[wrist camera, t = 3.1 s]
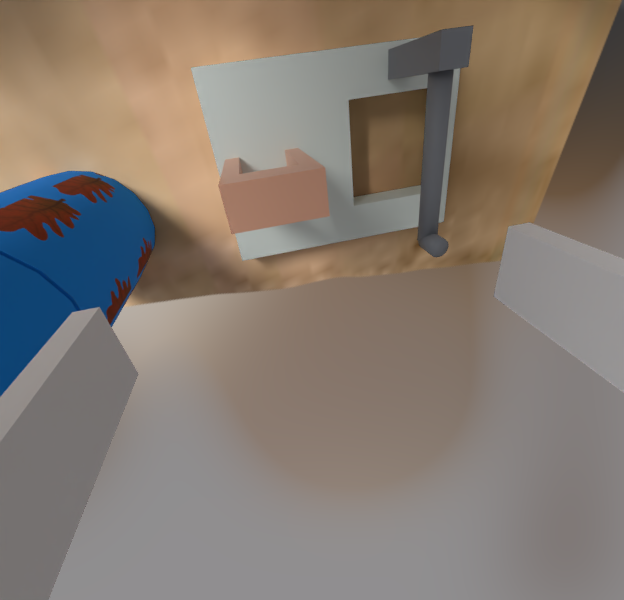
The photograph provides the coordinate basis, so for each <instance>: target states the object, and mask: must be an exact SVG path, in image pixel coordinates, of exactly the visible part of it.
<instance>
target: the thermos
mask: <svg viewBox="0 0 624 600" xmlns="http://www.w3.org/2000/svg"><path fill="white" fill-rule="evenodd" d="M154 245H155V227H154V225H153V222H152V219H151V217H150V214H149V212H148V210H147V208H146V207H145V206H144V205H143V203H142V202H141V201H140V200H139V199H138V197H137V196H136V195H135V194H134V193H133V192H132V191H130V190H129V189H127V188H126V187H124V186H123V185H122V184H120V183H119V182H117V181H116V180H114V179H111V178H108V177H106V176H103V175H100V174H97V173H94V172H85V171H67V172H62V173H58V174H54V175H50V176H46V177H43V178H40V179H37V180H34V181H31V182H28V183H25V184H23V185H20V186H17V187H14V188H12V189H9V190H6V191H3V192H1V193H0V397H1V396H2V394H3V393H4V392H5V391H6V390H7V389H8V387H9V386H10V385H11V384H12V383H13V381H14V380H15V379H16V378H17V377H18V376H19V374H20V373H21V372H22V371H23V370H24V369H25V367H26V366H27V365H28V364H29V363H30V361H31V360H32V359H33V358H34V357H35V356H36V354H37V353H38V352H39V351H40V350H41V349H42V347H43V346H44V345H45V344H46V343H47V341H48V340H49V339H50V338H51V337H52V336H53V334H54V333H55V332H56V331H57V330H58V329H59V327H60V326H61V325H62V324H63V323H64V321H65V320H66V319H67V318H68V317H69V316H70V314H71V313H72V312H76V311H81V310H87V309H92V308H97V307H100V309H101V310H102V312H103V314H104V316H105V317H106V319H107V321H108V322H109V324H110V326H111V327H112V326H113V324H114V322H115V320H116V319H117V317H118V315H119V313H120V312H121V310H122V308H123V306H124V305H125V303H126V301H127V300H128V298H129V296H130V294H131V293H132V291H133V289H134V287H135V286H136V284H137V282H138V280H139V279H140V277H141V275H142V273H143V270H144V268H145V266H146V264H147V262H148V259H149V257H150V255H151V252H152V250H153V247H154Z"/></svg>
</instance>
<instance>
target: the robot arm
mask: <svg viewBox="0 0 624 600" xmlns="http://www.w3.org/2000/svg"><path fill="white" fill-rule="evenodd" d="M494 297H495V298H496V299H497V300H499V301H500V302H502V303H503V304H504V305H506V306H507V307H508V308H510V309H511V310H513V311H514V312H515V313H516V314H518V315H519V316H520V317H522V318H523V319H525V320H526V321H527V322H529V323H530V324H531V325H533V326H534V327H535V328H537V329H538V330H540V331H541V332H542V333H544V334H545V335H546V336H548V337H549V338H550V339H552V340H553V341H554V342H556V343H557V344H558V345H560V346H561V347H562V348H564V349H565V350H566V351H568V352H569V353H571V354H572V355H574V356H575V357H576V358H577V359H579V360H580V361H581V362H583V363H584V364H585V365H587V366H588V367H589V368H591V369H592V370H594V371H595V372H596V373H598V374H599V375H600V376H602V377H603V378H604V379H606V380H607V381H608V382H610V383H611V384H613V385H614V386H615V387H616V388H618V389H619V390H621V391H622V392H623V393H624V259H623V258H620V257H617V256H615V255H612V254H610V253H607V252H604V251H602V250H599V249H596V248H594V247H591V246H589V245H586V244H584V243H581V242H578V241H576V240H573V239H571V238H568V237H566V236H563V235H560V234H558V233H555V232H553V231H550V230H548V229H545V228H542V227H540V226H537V225H535V224H532V223H530V222H529V223H524V224H519V225H514V226H509V227H508V231H507V236H506V241H505V245H504V250H503V255H502V259H501V264H500V269H499V274H498V278H497V283H496V287H495V292H494ZM137 376H138V372H137V371H136V369H135V367H134V365H133V364H132V362H131V360H130V359H129V357H128V355H127V353H126V352H125V350H124V348H123V347H122V345H121V343H120V341H119V340H118V338H117V336H116V335H115V333H114V331H113V329H112V328H111V326H110V324H109V322H108V321H107V319H106V317H105V316H104V314H103V312H102V310H101V309H100V307H97V308H92V309H87V310H81V311H76V312H72V313H71V314H70V316H69V317H68V318H67V319H66V320H65V321H64V323H63V324H62V325H61V326H60V327H59V329H58V330H57V331H56V332H55V333H54V334H53V336H52V337H51V338H50V339H49V340H48V341H47V343H46V344H45V345H44V346H43V347H42V349H41V350H40V351H39V352H38V353H37V354H36V356H35V357H34V358H33V359H32V360H31V361H30V363H29V364H28V365H27V366H26V367H25V369H24V370H23V371H22V372H21V373H20V374H19V376H18V377H17V378H16V379H15V380H14V381H13V383H12V384H11V385H10V386H9V387H8V389H7V390H6V391H5V392H4V393H3V394H2V396H1V397H0V600H48V599H49V597H50V594H51V592H52V589H53V587H54V584H55V582H56V579H57V576H58V574H59V572H60V569H61V567H62V564H63V561H64V559H65V557H66V554H67V552H68V549H69V547H70V544H71V542H72V539H73V537H74V534H75V532H76V529H77V527H78V524H79V521H80V519H81V517H82V514H83V512H84V509H85V507H86V504H87V502H88V499H89V496H90V494H91V491H92V489H93V486H94V484H95V481H96V479H97V476H98V474H99V471H100V469H101V466H102V464H103V461H104V459H105V456H106V454H107V451H108V449H109V446H110V444H111V441H112V439H113V436H114V434H115V431H116V429H117V426H118V424H119V421H120V418H121V416H122V414H123V411H124V409H125V406H126V404H127V401H128V399H129V396H130V394H131V391H132V389H133V386H134V384H135V381H136V379H137Z"/></svg>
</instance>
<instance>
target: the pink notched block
mask: <svg viewBox="0 0 624 600" xmlns="http://www.w3.org/2000/svg"><path fill="white" fill-rule="evenodd" d="M285 156H286V162H287V166H285V167H279V168H273V169H267V170H261V171H255V172H249V173H243V172H242V168H241V164H240V159H239V157H238V158H232V159H226V160H225V162H224V166H223V170H222V174H221V177H220V181H219V185H218V186H219V190H220V193H221V197H222V200H223V204H224V208H225V211H226V215H227V219H228V222H229V226H230V230H231V233H232V234H236V233H242V232H247V231H252V230H258V229H263V228H269V227H274V226H279V225H285V224H290V223H296V222H301V221H306V220H312V219H317V218H323V217H328V216H330V213H329V202H328V192H327V181H326V170H325V167H324V166H323V165H321V164H320V163H318V162H317V161H316V160H314V159H313V158H311V157H310V156H309V155H307V154H306V153H305V152H303V151H302V150H300V149H299V148H294V149H287V150H285Z"/></svg>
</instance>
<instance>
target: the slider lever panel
mask: <svg viewBox="0 0 624 600" xmlns="http://www.w3.org/2000/svg"><path fill="white" fill-rule="evenodd" d="M472 33H473V26H465V27H458V28H450V29H442V30H439V31H437V32H434V33H431V34H429V35H426V36H423V37H420V38H412V39H405V40H397V41H390V42H382V43H374V44H367V45H359V46H352V47H344V48H336V49H329V50H321V51H314V52H306V53H298V54H291V55H283V56H275V57H268V58H260V59H253V60H245V61H237V62H230V63H222V64H215V65H207V66H199V67H192V68H191V70H192V74H193V78H194V82H195V85H196V89H197V93H198V97H199V100H200V104H201V108H202V111H203V115H204V119H205V123H206V126H207V130H208V134H209V138H210V141H211V145H212V149H213V153H214V156H215V160H216V164H217V168H218V171H219V175H220V177H221V174H222V170H223V166H224V162H225V160H226V159H232V158H238V157H239V159H240V164H241V168H242V172H243V173H249V172H255V171H261V170H267V169H273V168H279V167H285V166H287V162H286V156H285V150H287V149H294V148H299V149H300V150H302V151H303V152H305V153H306V154H307V155H309V156H310V157H311V158H313V159H314V160H316V161H317V162H318V163H320V164H321V165H323V166H324V167H325V170H326V181H327V192H328V202H329V213H330V216H328V217H323V218H317V219H312V220H306V221H301V222H296V223H290V224H285V225H279V226H274V227H269V228H263V229H258V230H252V231H247V232H242V233H236V234H235V235H236V239H237V242H238V246H239V250H240V254H241V257H242V261H244V260H249V259H254V258H260V257H265V256H270V255H275V254H280V253H285V252H290V251H296V250H301V249H306V248H311V247H316V246H321V245H327V244H332V243H337V242H342V241H347V240H352V239H357V238H363V237H368V236H373V235H378V234H383V233H388V232H393V231H399V230H404V229H409V228H414V227H418V238H417V240H418V243H419V246H420V247H422V248H423V249H424V250H425V251H427V252H428V253H429V254H431V255H432V256H433V257H440V256H442V255H443V254H444V253H445V252H446V251H447V249H448V242H447V241H446V240H445V239H444V238H442V237H440V236H439V235H437V233H438V223H440V222H444V214H445V205H446V195H447V186H448V177H449V168H450V159H451V150H452V140H453V131H454V122H455V113H456V104H457V95H458V85H459V76H460V68H464V67H468V66H469V58H470V49H471V41H472ZM425 88H427V98H426V114H425V129H424V145H423V160H422V176H421V185H418V186H412V187H407V188H401V189H396V190H390V191H385V192H379V193H373V194H368V195H362V196H357V197H353V180H352V159H351V139H350V119H349V100H351V99H358V98H364V97H371V96H378V95H385V94H391V93H398V92H405V91H412V90H418V89H425Z"/></svg>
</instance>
